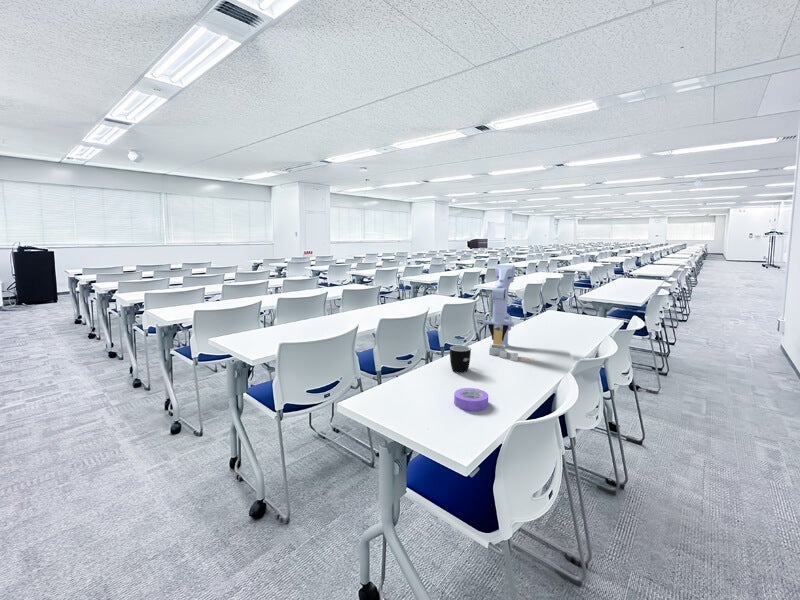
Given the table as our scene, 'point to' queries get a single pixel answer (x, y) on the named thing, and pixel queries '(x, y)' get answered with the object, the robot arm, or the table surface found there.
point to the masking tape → (471, 399)
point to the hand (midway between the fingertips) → (497, 339)
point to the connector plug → (497, 336)
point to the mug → (460, 358)
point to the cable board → (502, 353)
